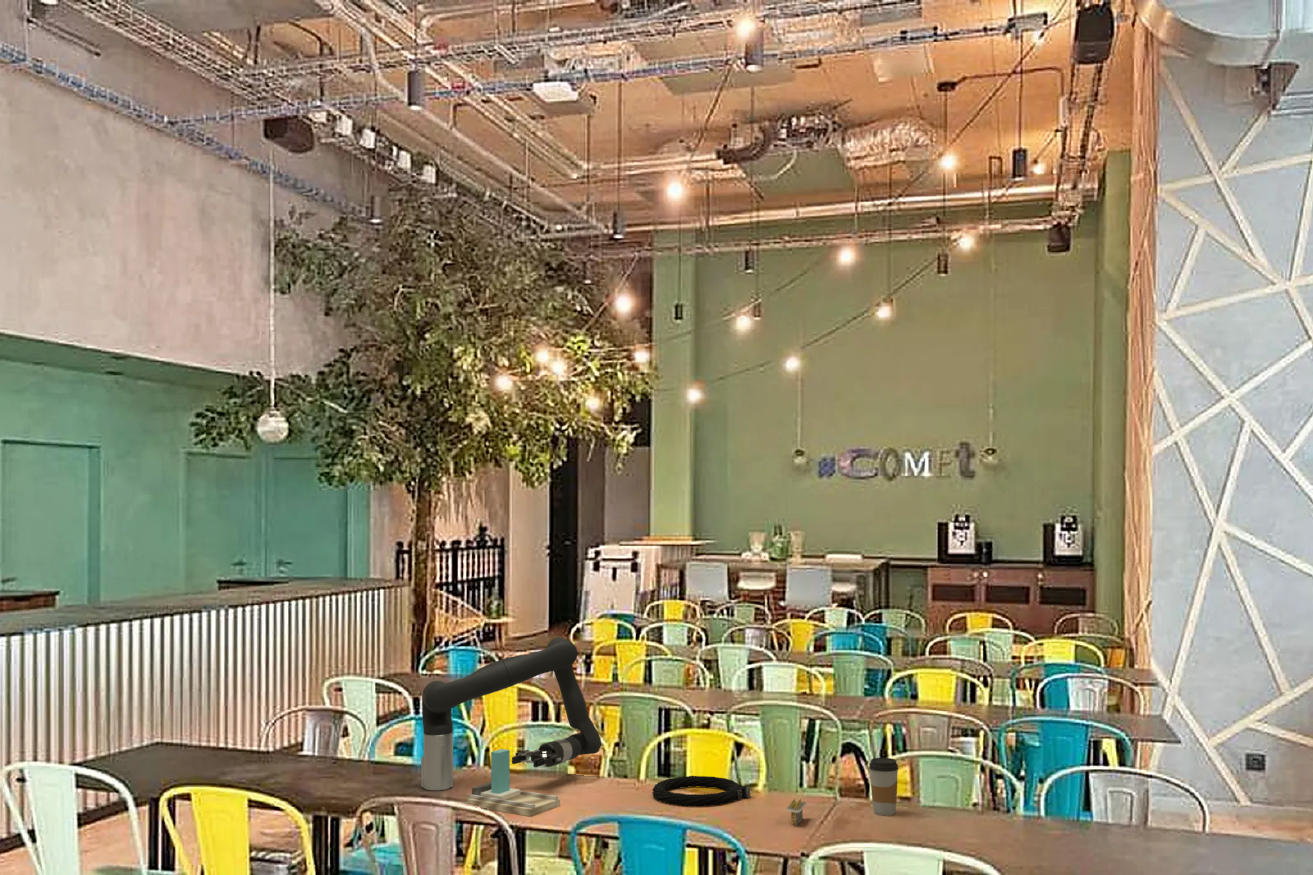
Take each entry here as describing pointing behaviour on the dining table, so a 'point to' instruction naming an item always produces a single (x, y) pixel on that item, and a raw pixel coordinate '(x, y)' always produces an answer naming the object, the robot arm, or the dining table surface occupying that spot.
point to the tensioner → (500, 776)
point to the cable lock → (724, 797)
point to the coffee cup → (884, 785)
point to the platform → (796, 811)
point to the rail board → (513, 801)
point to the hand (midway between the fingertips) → (523, 762)
